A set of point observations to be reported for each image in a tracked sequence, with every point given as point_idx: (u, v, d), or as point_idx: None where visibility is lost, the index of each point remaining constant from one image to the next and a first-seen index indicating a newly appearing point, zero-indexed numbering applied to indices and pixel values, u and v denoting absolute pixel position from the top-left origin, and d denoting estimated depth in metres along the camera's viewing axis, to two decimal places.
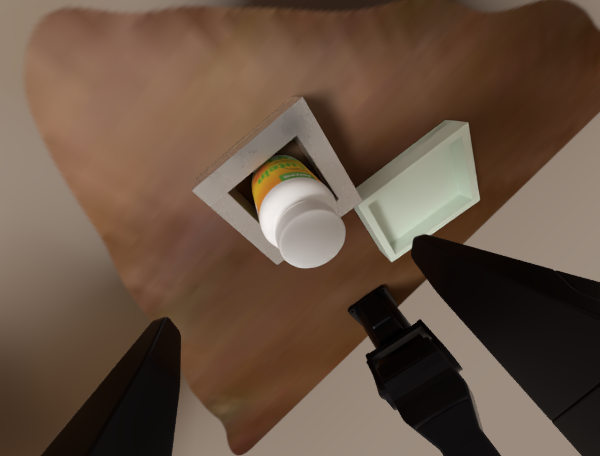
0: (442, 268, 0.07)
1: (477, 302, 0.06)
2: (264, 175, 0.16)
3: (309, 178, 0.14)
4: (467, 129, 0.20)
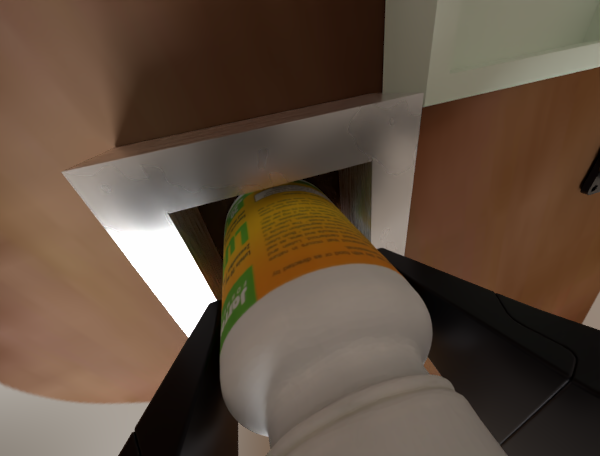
0: None
1: None
2: None
3: (240, 321, 0.05)
4: None
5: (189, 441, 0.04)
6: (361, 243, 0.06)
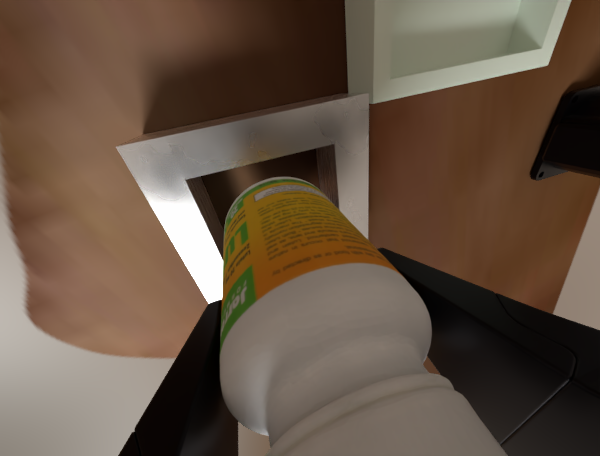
0: None
1: None
2: None
3: (240, 321, 0.05)
4: None
5: (189, 441, 0.04)
6: (361, 243, 0.06)
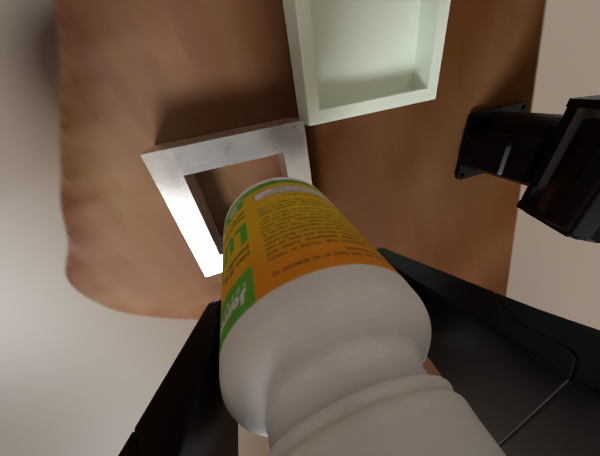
0: None
1: None
2: None
3: (239, 322, 0.05)
4: None
5: (189, 441, 0.04)
6: (361, 244, 0.06)
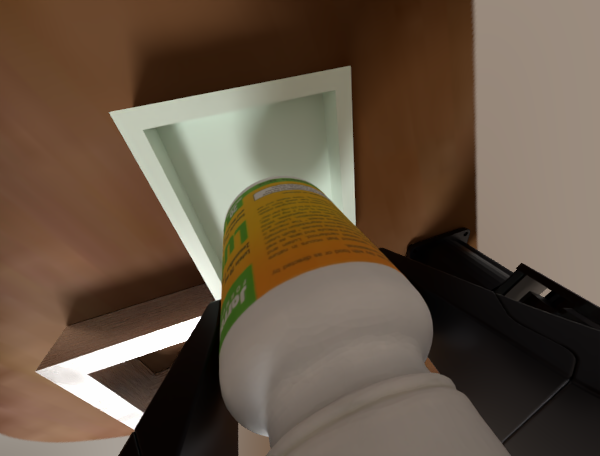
0: None
1: None
2: None
3: (239, 320, 0.05)
4: (129, 113, 0.09)
5: (189, 441, 0.04)
6: (361, 242, 0.06)
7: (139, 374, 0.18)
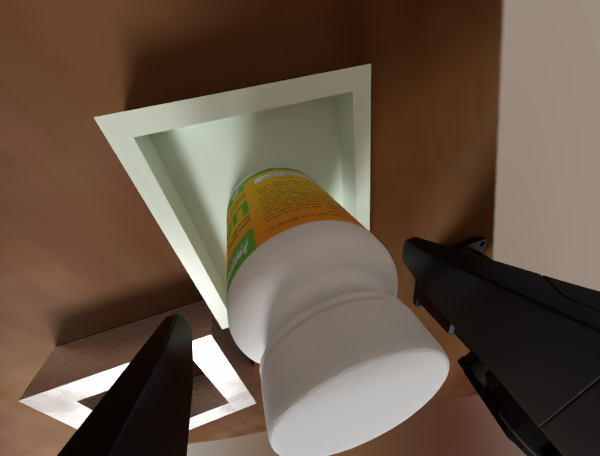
0: (432, 272, 0.07)
1: (466, 306, 0.06)
2: None
3: (243, 265, 0.06)
4: (117, 119, 0.07)
5: None
6: (341, 211, 0.07)
7: None
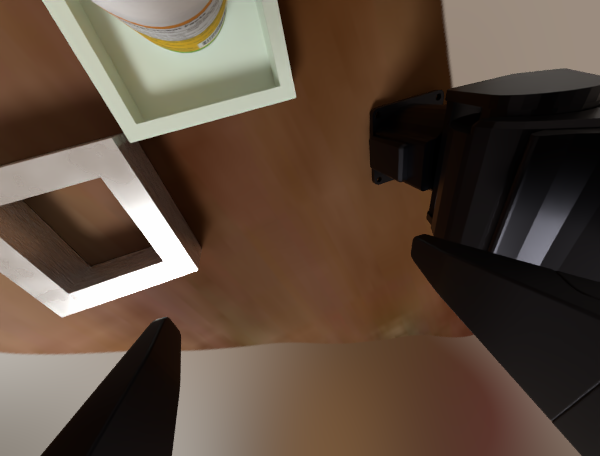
0: (442, 268, 0.07)
1: (477, 302, 0.06)
2: None
3: None
4: None
5: None
6: None
7: (64, 255, 0.16)
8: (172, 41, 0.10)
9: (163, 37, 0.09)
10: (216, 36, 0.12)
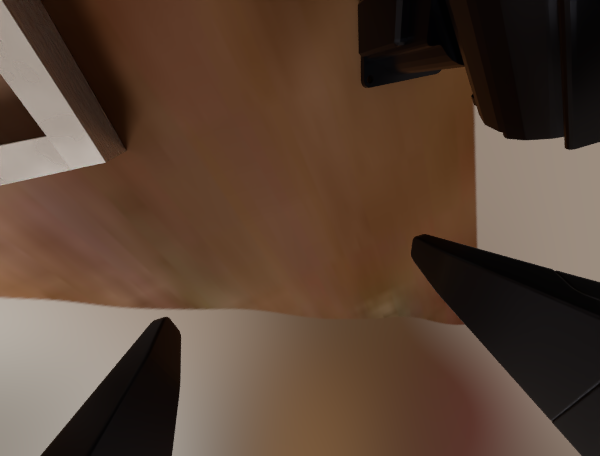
0: (442, 268, 0.07)
1: (477, 302, 0.06)
2: None
3: None
4: None
5: None
6: None
7: None
8: None
9: None
10: None
